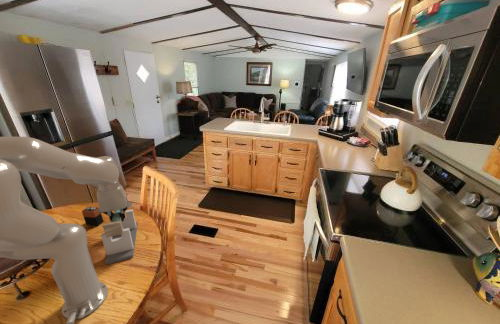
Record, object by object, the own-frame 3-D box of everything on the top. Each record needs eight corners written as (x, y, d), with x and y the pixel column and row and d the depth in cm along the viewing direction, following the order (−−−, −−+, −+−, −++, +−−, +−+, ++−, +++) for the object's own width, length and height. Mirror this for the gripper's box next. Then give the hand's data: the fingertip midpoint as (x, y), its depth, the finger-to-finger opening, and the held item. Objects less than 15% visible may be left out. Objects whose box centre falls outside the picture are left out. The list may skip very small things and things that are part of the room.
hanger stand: (133, 257, 89) (127, 235, 84) (105, 264, 85) (98, 242, 81) (137, 224, 109) (133, 205, 105) (116, 228, 106) (110, 209, 101)
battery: (97, 226, 107) (92, 210, 103) (85, 225, 107) (80, 209, 104) (104, 221, 111) (99, 205, 107) (92, 220, 111) (87, 204, 108)
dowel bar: (123, 233, 86) (120, 222, 83) (106, 237, 83) (102, 225, 81) (128, 207, 103) (126, 197, 101) (115, 209, 101) (112, 199, 98)
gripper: (82, 193, 80) (95, 230, 87) (129, 185, 86) (138, 221, 93) (88, 184, 86) (99, 219, 93) (131, 178, 92) (139, 212, 99)
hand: (118, 220), depth 93 cm, fingers closed on dowel bar, 3 cm apart
